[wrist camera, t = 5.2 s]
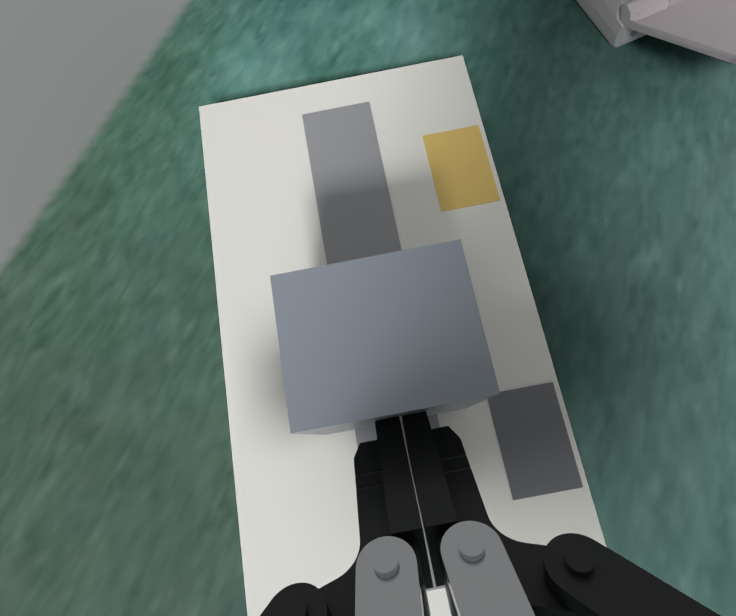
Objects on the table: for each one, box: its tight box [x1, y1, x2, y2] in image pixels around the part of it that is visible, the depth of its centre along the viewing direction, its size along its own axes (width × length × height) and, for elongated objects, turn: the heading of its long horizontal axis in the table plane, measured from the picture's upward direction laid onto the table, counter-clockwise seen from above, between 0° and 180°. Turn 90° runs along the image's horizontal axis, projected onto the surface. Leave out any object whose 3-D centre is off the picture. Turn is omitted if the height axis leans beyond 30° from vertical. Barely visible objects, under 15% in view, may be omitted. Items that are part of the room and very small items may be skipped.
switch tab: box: [270, 239, 500, 435], centre depth 14 cm, size 5×4×6 cm
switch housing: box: [199, 55, 606, 616], centre depth 19 cm, size 12×22×2 cm, turn 10°
